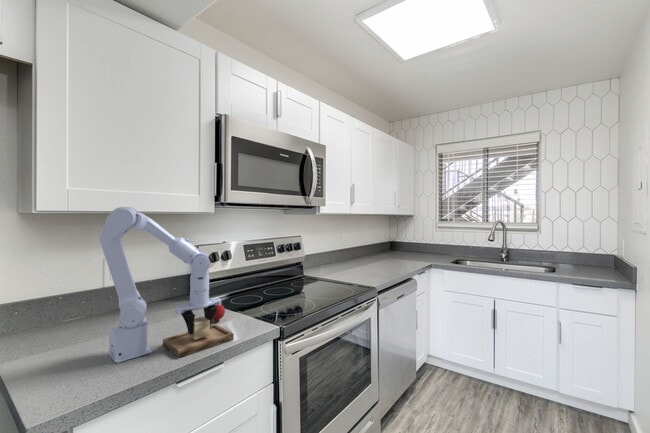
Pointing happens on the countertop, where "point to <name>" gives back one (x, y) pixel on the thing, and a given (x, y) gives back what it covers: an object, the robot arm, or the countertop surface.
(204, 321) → the cube
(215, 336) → the tray
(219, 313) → the onion
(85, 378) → the countertop surface
